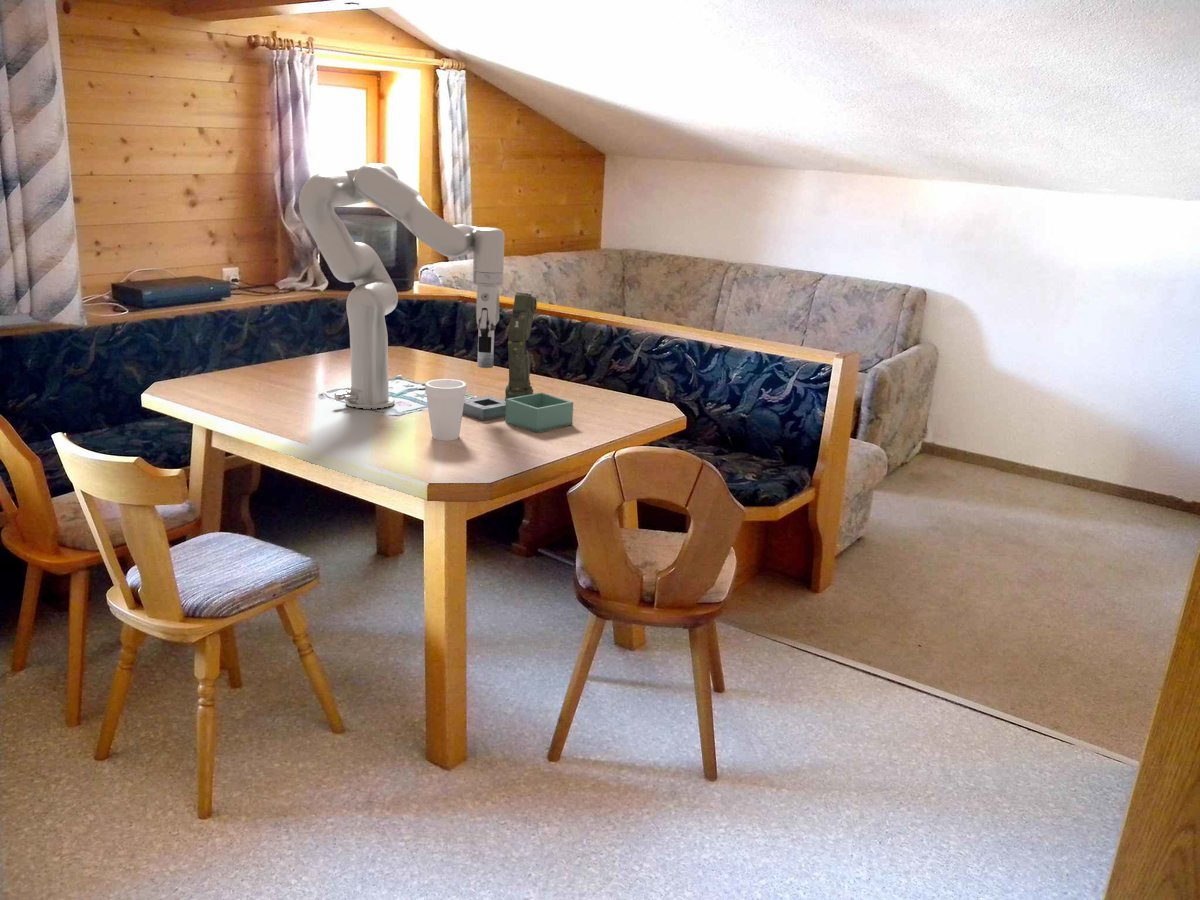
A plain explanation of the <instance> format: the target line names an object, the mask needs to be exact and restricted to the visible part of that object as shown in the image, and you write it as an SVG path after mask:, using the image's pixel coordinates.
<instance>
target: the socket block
mask: <svg viewBox="0 0 1200 900" xmlns="http://www.w3.org/2000/svg"><path fill="white" fill-rule="evenodd" d="M462 415H466V416H468V417H470V418H474V419H477V420H480V421H482V422H484V421H491V420H494V419H498V418H499V419H501V418H506V401H505V399H504V400H503V399H501V398H498V397H495V396H491V395H487V396H482V397H477V398H470V399H464V406H463V413H462Z"/></svg>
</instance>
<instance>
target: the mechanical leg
mask: <svg viewBox="0 0 1200 900" xmlns="http://www.w3.org/2000/svg"><path fill="white" fill-rule="evenodd" d="M537 304H538V303H537V297H536V296H533V295H532V294H529V293H528V292H527V293H526V292H516V293H515V295H514V301H513V307H512V312H511V313H512V314H511V318H510V319H509V324H508V335H507V337H508V338H507V339H508V341H507V351H508V384H507V386H506V388H505V394H504V395H505V397H504V398H505V399H504V401H506V399H508V398H514V397H520V396H525V395H531V394H534V389H533V386H532V385H531V381H530V374H531V372H530V371H531V364H532V363H531V358H530V355H529V354H528V353H527V352H526V341H528V340H529V339H530V337H531V331H532V325H533V320H534V316H535V315H534V314H535V312H536V310H537V307H538V306H537Z"/></svg>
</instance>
